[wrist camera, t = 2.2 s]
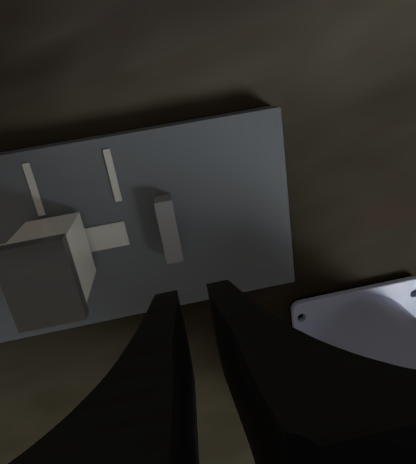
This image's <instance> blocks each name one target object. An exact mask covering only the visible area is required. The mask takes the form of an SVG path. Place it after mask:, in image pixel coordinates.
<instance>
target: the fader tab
mask: <svg viewBox="0 0 416 464" xmlns="http://www.w3.org/2000/svg"><path fill="white" fill-rule="evenodd" d="M95 273H96V268H95V264H94V261H93V257H92V254H91V250H90V247H89V243H88V240H87V236H86V233H85V230H84V226H83V223H82V219H81V216H80V212H77V213H71V214H66V215H61V216H55V217H50V218H44V219H39V220H34V221H28V222H25V223H24V224H23V225H22V227H21V228H20V229H19V230H18V231H17V232H16V233H15V234H14V235H13V236H12V237H11V238H10V239H9V240H8V242H7V243H6V244H5V245H1V246H0V287H1V289H2V292H3V294H4V297H5V299H6V302H7V304H8V307H9V309H10V312H11V315H12V317H13V320H14V322H15V325H16V327H17V330H18V332H19V333H23V332H28V331H33V330H38V329H42V328H47V327H52V326H57V325H62V324H67V323H71V322H76V321H81V320H86V319H87V317H88V314H89V309H88V306H87V300H88V297H89V294H90V290H91V287H92V283H93V280H94V277H95Z"/></svg>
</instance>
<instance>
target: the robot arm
mask: <svg viewBox="0 0 416 464" xmlns="http://www.w3.org/2000/svg"><path fill="white" fill-rule="evenodd" d="M206 285H207V290H208V296H209V302H210V307H211V313H212V319H213V325H214V330H215V336H216V342H217V346H218V351H219V355H220V359H221V363H222V367H223V372H224V375H225V378H226V381H227V384H228V387H229V389H230V392H231V395H232V398H233V400H234V403H235V406H236V409H237V411H238V414H239V417H240V420H241V422H242V425H243V428H244V431H245V433H246V436H247V439H248V442H249V444H250V448H251V451H252V454H253V457H254V460H255V464H416V277H415V276H410V277H405V278H401V279H396V280H391V281H386V282H382V283H377V284H372V285H368V286H363V287H358V288H353V289H349V290H344V291H339V292H334V293H330V294H325V295H320V296H315V297H311V298H306V299H301V300H297V301H295V302H294V303H293V304H292V306H291V317H292V326H290V325H288V324H286V323H285V322H283V321H281V320H280V319H278V318H277V317H275V316H274V315H272V314H271V313H269V312H268V311H266V310H265V309H264V308H262V307H261V306H260V305H258V304H257V303H255V302H254V301H253V300H252V299H250V298H249V297H248V296H247V295H245V294H244V293H243V292H242V291H241V290H240V289H238V288H237V287H236V286H235V285H234V284H233V283H232V282H230V281H229V280H223V281H218V282H214V283H209V284H206ZM413 290H414V292H413V293H412V294H411V292H412V291H413ZM300 314H303V316H302V317H301V318H298V316H299V315H300ZM8 464H199V452H198V432H197V412H196V393H195V379H194V373H193V367H192V361H191V355H190V349H189V344H188V339H187V334H186V330H185V325H184V320H183V315H182V310H181V306H180V301H179V296H178V291H177V290H174V291H170V292H165V293H160V294H156V295H155V296H154V298H153V299H152V301H151V304H150V306H149V308H148V310H147V312H146V314H145V316H144V318H143V320H142V322H141V324H140V325H139V327H138V329H137V331H136V332H135V334H134V336H133V338H132V339H131V341H130V342H129V344H128V345H127V347H126V348H125V350H124V351H123V353H122V354H121V356H120V357H119V359H118V360H117V362H116V363H115V364H114V366H113V367H112V368H111V370H110V371H109V372H108V374H107V375H106V376H105V377H104V378H103V379H102V381H101V382H100V383H99V384H98V385H97V386H96V387H95V389H94V390H93V391H92V392H91V393H90V394H89V395H88V396H87V397H86V398H85V399H84V400H83V401H82V402H81V403H80V404H79V405H78V406H77V407H76V408H75V409H74V410H73V411H72V412H71V413H70V414H69V415H68V416H66V417H65V418H64V419H63V420H62V421H61V422H60V423H59V424H57V425H56V426H55V427H54V428H53V429H52V430H51V431H49V432H48V433H47V434H46V435H45V436H43V437H42V438H41V439H40V440H39V441H37V442H36V443H35V444H34V445H32V446H31V447H30V448H29V449H27V450H26V451H25V452H23V453H22V454H21V455H19V456H18V457H17V458H15V459H14V460H12V461H11V462H10V463H8Z"/></svg>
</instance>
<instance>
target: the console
mask: <svg viewBox="0 0 416 464" xmlns="http://www.w3.org/2000/svg"><path fill="white" fill-rule="evenodd" d="M77 212H80V216H81V219H82V223H83V226H84V230H85V233H86V236H87V240H88V243H89V247H90V250H91V254H92V257H93V261H94V264H95V268H96V273H95V277H94V280H93V283H92V287H91V290H90V294H89V297H88V300H87V306H88V309H89V314H88V317H87V319H86V320H81V321H76V322H71V323H67V324H62V325H57V326H52V327H47V328H42V329H38V330H33V331H28V332H23V333H19V332H18V330H17V327H16V325H15V322H14V320H13V317H12V315H11V312H10V309H9V307H8V304H7V302H6V299H5V297H4V294H3V292H2V289H1V287H0V343H2V342H6V341H11V340H16V339H21V338H26V337H30V336H35V335H40V334H45V333H50V332H55V331H59V330H64V329H69V328H74V327H79V326H83V325H88V324H93V323H98V322H103V321H108V320H112V319H117V318H122V317H127V316H132V315H136V314H141V313H146V312H147V310H148V308H149V306H150V304H151V301H152V299H153V298H154V296H155V295H156V294H160V293H165V292H170V291H174V290H177V291H178V296H179V301H180V305H185V304H190V303H194V302H199V301H204V300H209V296H208V290H207V285H206V284H209V283H214V282H218V281H223V280H229V281H230V282H232V283H233V284H234V285H235V286H236V287H237V288H238V289H240V290H241V291H242V292H247V291H252V290H257V289H262V288H267V287H271V286H276V285H281V284H286V283H291V282H295V275H294V263H293V251H292V239H291V227H290V215H289V203H288V190H287V178H286V166H285V154H284V142H283V130H282V118H281V107H277V106H266V107H260V108H254V109H248V110H243V111H237V112H231V113H225V114H219V115H214V116H208V117H202V118H196V119H190V120H185V121H179V122H173V123H167V124H161V125H156V126H150V127H144V128H138V129H132V130H127V131H121V132H115V133H109V134H104V135H98V136H92V137H86V138H80V139H75V140H69V141H63V142H57V143H51V144H46V145H40V146H34V147H28V148H22V149H17V150H11V151H5V152H0V246H1V245H5V244H6V243H7V242H8V240H9V239H10V238H11V237H12V236H13V235H14V234H15V233H16V232H17V231H18V230H19V229H20V228H21V227H22V225H23V224H24V223H25V222H28V221H34V220H39V219H44V218H50V217H55V216H61V215H66V214H71V213H77Z"/></svg>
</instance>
